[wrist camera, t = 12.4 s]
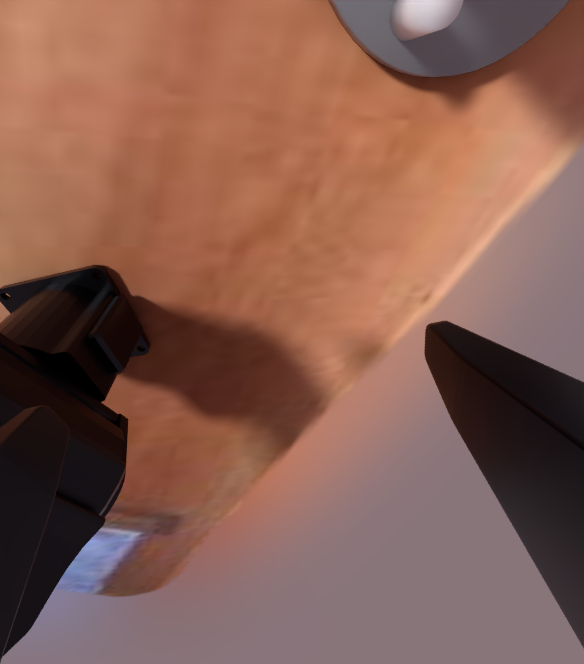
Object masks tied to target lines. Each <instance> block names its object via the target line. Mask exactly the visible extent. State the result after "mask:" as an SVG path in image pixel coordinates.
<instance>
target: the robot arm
mask: <svg viewBox="0 0 584 664" xmlns="http://www.w3.org/2000/svg"><path fill="white" fill-rule="evenodd" d="M94 272H98V273H99V274H100V275H101V277H98V276H96V275H95V273H94ZM6 293H7V294H9V295H10V296H11V297H9V296H7V295H6ZM0 302H1V303H2V304H3V305H4V306H5V308H6V309H7V310H8V311H9V312H10V313H11V314H10V315H9V316H8V317H7V318H5V319H4V320H3V321H2V322H1V323H0V662H1V659H2V657H3V656H4V655H5V654H6V653H7V652H8V651H9V650H10V649H11V648H12V647H13V646H14V645H15V644H16V643H17V642H18V641H19V640H20V639H21V638H22V637H23V636H25V634H26V633H27V632H28V631H29V630H30V629H31V627H32V626H33V624H34V622H35V621H36V619H37V617H38V615H39V614H40V612H41V610H42V609H43V607H44V605H45V604H46V602H47V600H48V598H49V597H50V595H51V593H52V592H53V590H54V588H55V587H56V585H57V583H58V582H59V580H60V579H61V577H62V576H63V574H64V572H65V571H66V569H67V568H68V567H69V565H70V564H71V563H72V561H73V560H74V559H75V557H76V556H77V555H78V553H79V552H80V551H81V549H82V548H83V547H84V546H85V544H86V543H87V542H88V541H89V540H90V539H91V538H92V537H93V536H94V535H95V534H96V533H97V532H98V530H99V529H100V528H101V527H102V526H103V525H104V523H105V516H106V515H107V513H108V512H109V511H110V509H111V508H112V506H113V504H114V503H115V501H116V499H117V497H118V495H119V493H120V491H121V489H122V486H123V483H124V479H125V473H126V454H127V434H128V419H127V418H126V417H125V416H123V415H122V414H117V413H115V412H114V411H113V410H111V409H110V408H108V407H107V406H105V405H104V404H102V403H101V402H102V401H104V400H105V399H106V397H107V394H108V392H109V390H110V388H111V386H112V384H113V382H114V380H115V378H116V376H117V374H120V373H122V372H123V371H124V369H125V367H126V365H127V363H128V361H129V358H130V357H134V356H139V355H144V354H146V353H148V352H149V349H150V343H149V341H148V340H147V338H146V336H145V335H144V333H143V327H142V326H141V324H140V322H139V321H138V319H137V317H136V315H135V314H134V312H133V310H132V309H131V307H130V305H129V303H128V302H127V300H126V298H125V297H123V296H122V295H121V294H120V292H119V290H118V289H117V287H116V285H115V283H114V282H113V280H112V278H111V277H110V275H109V273H108V272H107V270H106V269H105V268H104V267H102V266H100V265H92V266H88V267H84V268H79V269H75V270H71V271H66V272H62V273H58V274H53V275H49V276H45V277H41V278H36V279H32V280H28V281H23V282H19V283H15V284H10V285H6V286H3V287H1V288H0ZM140 346H143V347H144V348H141V347H140ZM425 358H426V362H427V364H428V366H429V368H430V371H431V373H432V375H433V378H434V380H435V383H436V385H437V387H438V389H439V392H440V394H441V396H442V399H443V401H444V403H445V405H446V408H447V410H448V413H449V415H450V417H451V419H452V421H453V423H454V425H455V426H456V428H457V430H458V432H459V433H460V435H461V437H462V439H463V440H464V442H465V444H466V446H467V447H468V449H469V451H470V452H471V454H472V456H473V458H474V459H475V461H476V463H477V464H478V466H479V468H480V470H481V472H482V473H483V475H484V477H485V478H486V480H487V482H488V484H489V485H490V487H491V489H492V491H493V492H494V494H495V496H496V497H497V499H498V501H499V503H500V504H501V506H502V508H503V510H504V511H505V513H506V515H507V517H508V518H509V520H510V522H511V523H512V525H513V527H514V528H515V530H516V532H517V534H518V535H519V537H520V539H521V541H522V542H523V544H524V546H525V547H526V549H527V551H528V553H529V555H530V556H531V558H532V559H533V561H534V563H535V565H536V567H537V568H538V570H539V572H540V574H541V575H542V577H543V579H544V581H545V582H546V584H547V586H548V587H549V589H550V591H551V593H552V594H553V596H554V598H555V600H556V601H557V603H558V605H559V606H560V608H561V610H562V612H563V613H564V615H565V617H566V618H567V620H568V622H569V624H570V625H571V627H572V629H573V631H574V632H575V634H576V636H577V637H578V639H579V641H580V642H581V644H582V646H583V648H584V382H582V381H580V380H578V379H575V378H573V377H571V376H569V375H566V374H564V373H562V372H560V371H558V370H555V369H553V368H551V367H549V366H546V365H544V364H542V363H540V362H537V361H535V360H533V359H531V358H529V357H526V356H524V355H522V354H520V353H518V352H515V351H513V350H511V349H508V348H506V347H504V346H502V345H500V344H498V343H495V342H493V341H491V340H489V339H486V338H484V337H482V336H479V335H477V334H475V333H473V332H471V331H469V330H466V329H464V328H462V327H460V326H457V325H455V324H453V323H451V322H448V321H440V322H436V323H430V324H428V325H427V327H426V332H425Z"/></svg>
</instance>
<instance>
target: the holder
mask: <svg viewBox="0 0 584 664" xmlns="http://www.w3.org/2000/svg"><path fill="white" fill-rule="evenodd" d="M568 1H569V0H329V3H330V5H331V6H332V8H333V10H334V12H335V14H336V16H337V17H338V19H339V21H340V23H341V24H342V25H343V27H344V28H345V30H346V31H347V32H348V34H349V35H350V36H351V38H352V39H353V40H354V41H355V42H356V43H357V44H358V45H359V46H360V47H361V48H362V49H363V50H364V51H365V52H366V53H367V54H368V55H369V56H371V57H372V58H374V59H375V60H376V61H378V62H379V63H380V64H382V65H384V66H386V67H388V68H390V69H392V70H394V71H397V72H400V73H404V74H407V75H410V76H419V77H442V76H454V75H459V74H463V73H468V72H472V71H475V70H477V69H480V68H483V67H485V66H488V65H490V64H492V63H494V62H496V61H498V60H500V59H501V58H503V57H505V56H507V55H509V54H510V53H512V52H513V51H514V50H516V49H517V48H519V47H520V46H522V45H523V44H525V43H526V42H527V41H529V40H530V39H531V38H532V37H533V36H534V35H536V34H537V33H538V32H539V31H540V30H541V29H543V28H544V27H545V26H546V25H547V24H548V23H549V22H550V21H551V20H552V19H553V18H554V17H555V16H556V15H557V14H558V13H559V12H560V11H561V10H562V9H563V7H564V6H565V5H566V4H567V3H568Z"/></svg>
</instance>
